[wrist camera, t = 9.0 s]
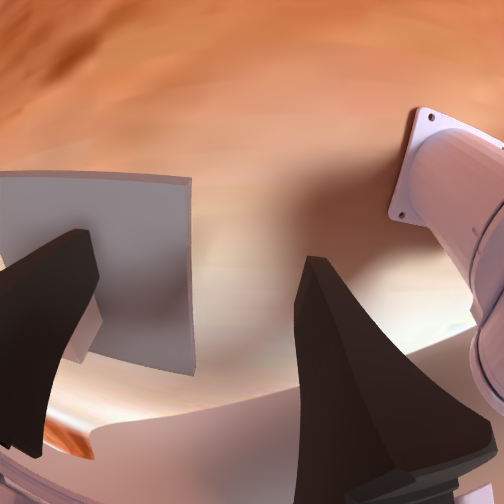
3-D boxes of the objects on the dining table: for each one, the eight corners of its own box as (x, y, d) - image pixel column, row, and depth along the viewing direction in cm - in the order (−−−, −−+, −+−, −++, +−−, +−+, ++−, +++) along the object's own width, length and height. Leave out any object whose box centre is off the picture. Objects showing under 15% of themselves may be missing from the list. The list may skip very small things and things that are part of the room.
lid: (191, 177, 14) (155, 231, 10) (195, 366, 23) (183, 419, 19) (-14, 171, 14) (-61, 206, 10) (42, 326, 23) (20, 364, 19)
